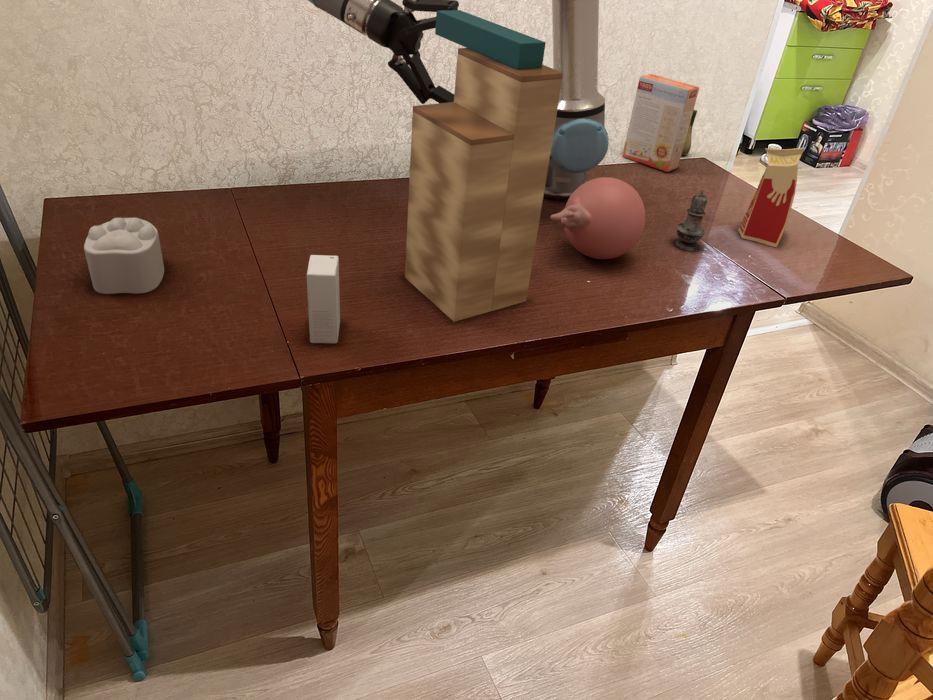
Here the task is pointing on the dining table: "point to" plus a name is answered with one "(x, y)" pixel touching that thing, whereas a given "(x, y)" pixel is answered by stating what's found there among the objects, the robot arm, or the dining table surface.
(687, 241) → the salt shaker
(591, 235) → the balloon
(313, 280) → the cosmetic box
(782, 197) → the red printed carton
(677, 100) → the cracker box
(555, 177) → the robot arm
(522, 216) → the step stand
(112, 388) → the dining table surface
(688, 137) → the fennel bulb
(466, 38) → the long teal rectangular block
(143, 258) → the lumpy-topped squat cylinder
